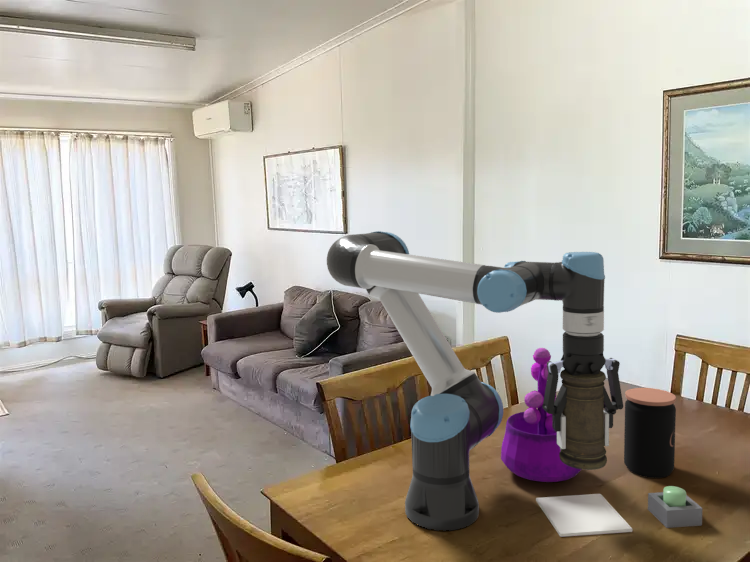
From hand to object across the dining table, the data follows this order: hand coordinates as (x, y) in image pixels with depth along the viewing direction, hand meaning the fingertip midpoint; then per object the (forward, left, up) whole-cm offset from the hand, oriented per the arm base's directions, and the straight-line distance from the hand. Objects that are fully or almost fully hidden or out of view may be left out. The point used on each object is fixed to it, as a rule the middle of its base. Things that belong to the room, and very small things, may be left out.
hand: (582, 444), depth 118 cm
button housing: (+17, -3, -15) cm, 23 cm away
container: (0, 0, -3) cm, 3 cm away
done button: (+17, -3, -15) cm, 23 cm away
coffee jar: (+23, +18, -15) cm, 33 cm away
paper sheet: (0, 0, -15) cm, 15 cm away
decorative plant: (-2, +19, -15) cm, 24 cm away
